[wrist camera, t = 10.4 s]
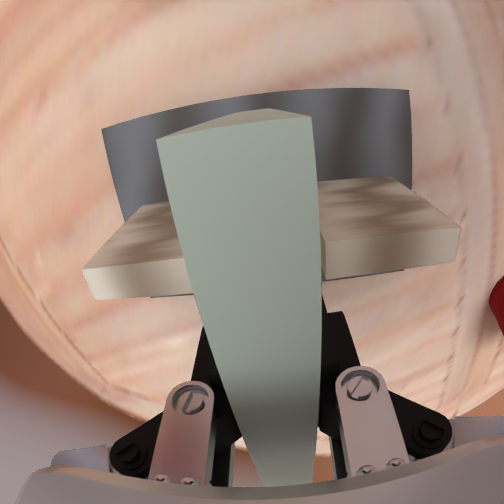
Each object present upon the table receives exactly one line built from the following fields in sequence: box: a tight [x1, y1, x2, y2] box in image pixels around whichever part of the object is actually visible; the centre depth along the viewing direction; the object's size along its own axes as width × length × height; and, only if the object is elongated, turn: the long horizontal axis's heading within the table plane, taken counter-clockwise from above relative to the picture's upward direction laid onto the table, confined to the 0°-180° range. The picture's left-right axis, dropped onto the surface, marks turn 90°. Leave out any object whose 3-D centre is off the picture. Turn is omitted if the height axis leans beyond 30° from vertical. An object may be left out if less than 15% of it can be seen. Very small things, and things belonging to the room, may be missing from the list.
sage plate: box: [156, 108, 322, 487], centre depth 14 cm, size 14×2×16 cm, turn 8°
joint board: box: [82, 88, 461, 300], centre depth 19 cm, size 24×16×12 cm, turn 98°
